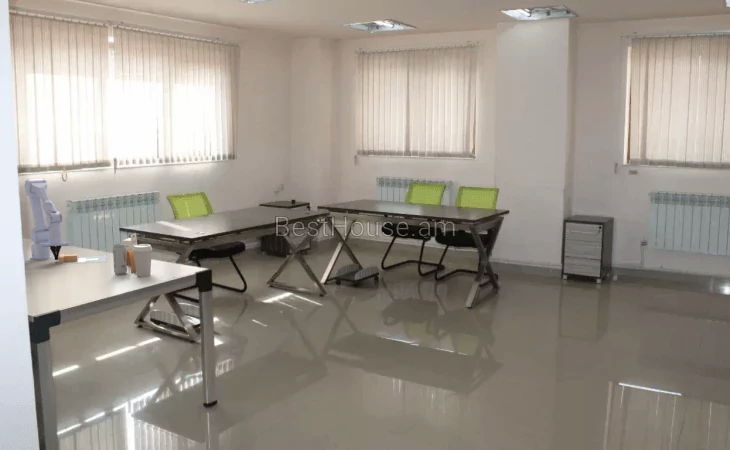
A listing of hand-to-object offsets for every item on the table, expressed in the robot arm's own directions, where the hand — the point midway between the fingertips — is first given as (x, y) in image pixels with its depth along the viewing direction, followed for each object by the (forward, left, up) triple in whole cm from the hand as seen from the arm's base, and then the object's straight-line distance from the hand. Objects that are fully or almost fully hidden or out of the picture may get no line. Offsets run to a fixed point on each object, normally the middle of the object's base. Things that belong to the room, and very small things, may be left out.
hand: (56, 259), depth 356 cm
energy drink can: (+51, -6, -2) cm, 51 cm away
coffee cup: (+64, -4, -2) cm, 64 cm away
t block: (+4, +4, -1) cm, 6 cm away
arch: (+48, +7, -2) cm, 49 cm away
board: (+8, +8, -1) cm, 12 cm away
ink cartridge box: (+31, +22, -2) cm, 38 cm away
